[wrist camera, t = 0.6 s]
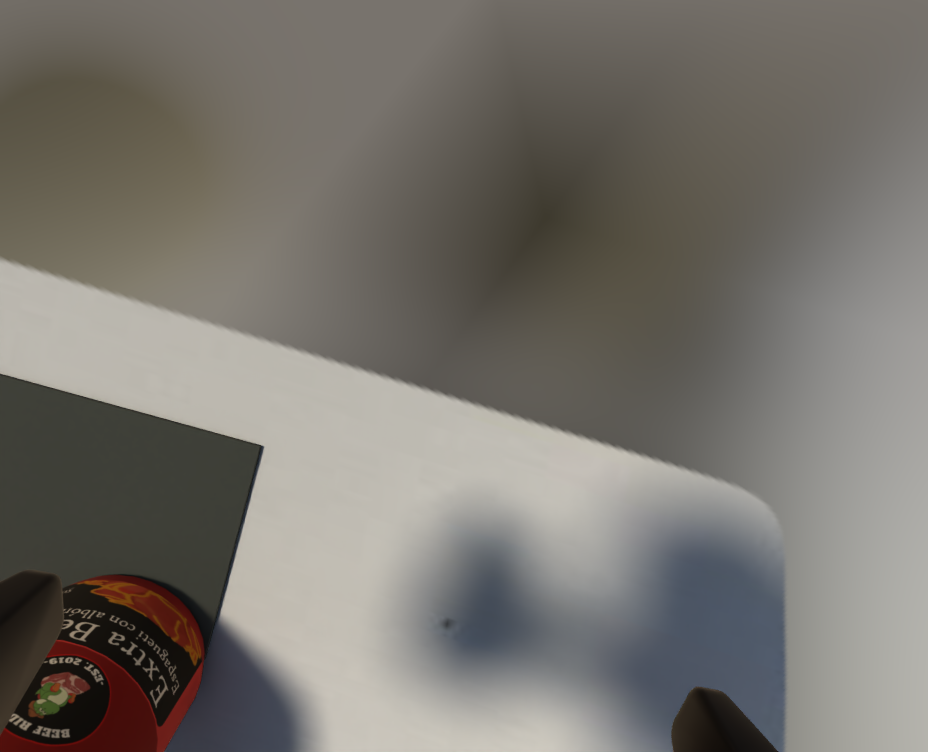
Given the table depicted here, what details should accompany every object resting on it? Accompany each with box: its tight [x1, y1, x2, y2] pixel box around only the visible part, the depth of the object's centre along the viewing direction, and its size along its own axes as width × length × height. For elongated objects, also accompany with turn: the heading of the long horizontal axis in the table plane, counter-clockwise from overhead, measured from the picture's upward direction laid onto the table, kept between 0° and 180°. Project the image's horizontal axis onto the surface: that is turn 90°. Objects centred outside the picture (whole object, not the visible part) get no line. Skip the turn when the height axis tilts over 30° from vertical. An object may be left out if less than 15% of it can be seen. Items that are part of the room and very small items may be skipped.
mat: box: [0, 374, 261, 660], centre depth 24 cm, size 10×14×1 cm
